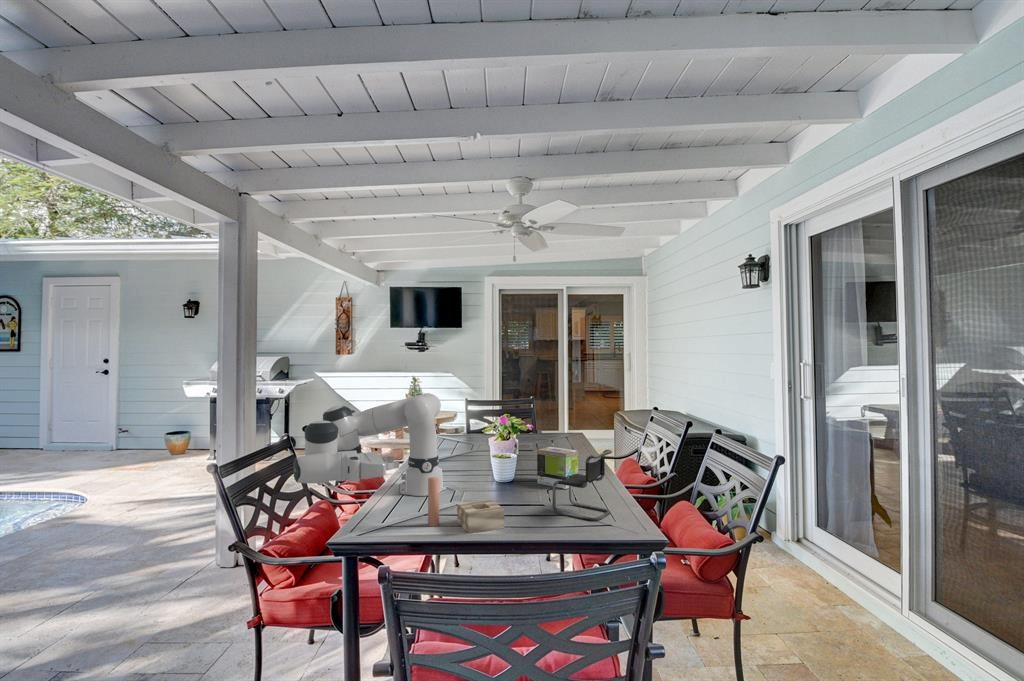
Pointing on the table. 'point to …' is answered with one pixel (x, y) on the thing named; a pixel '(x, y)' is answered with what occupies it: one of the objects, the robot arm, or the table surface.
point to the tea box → (556, 465)
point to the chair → (584, 485)
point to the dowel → (433, 502)
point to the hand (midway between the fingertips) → (396, 461)
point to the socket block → (480, 516)
